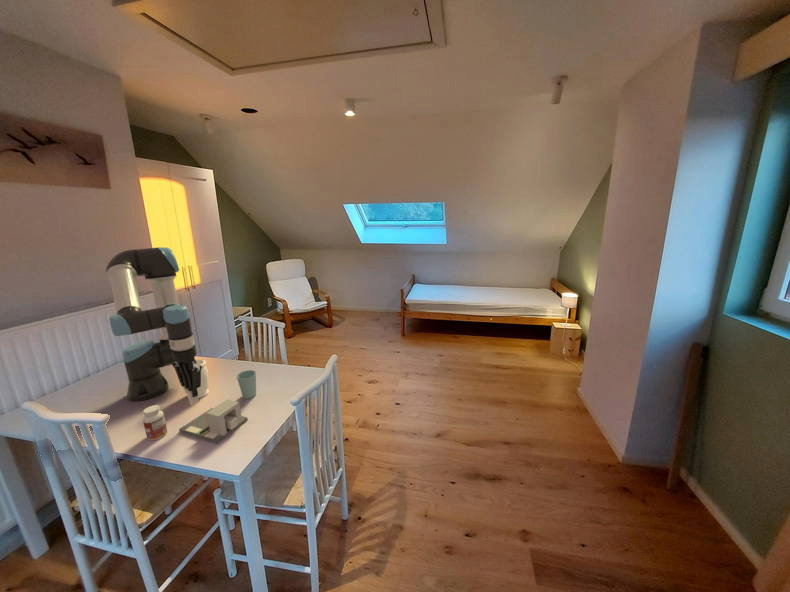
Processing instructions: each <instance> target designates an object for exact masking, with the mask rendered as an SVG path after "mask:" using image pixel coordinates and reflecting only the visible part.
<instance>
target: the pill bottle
mask: <svg viewBox="0 0 790 592" xmlns="http://www.w3.org/2000/svg"><path fill="white" fill-rule="evenodd" d="M142 412H143V418H142V423H143V427H144V431H145V435H146V439H148V440H149V441H157V440H159V439H161V438H163V437H164V436H166V434H168V426H167V422H166V419H165V415H164V412H163V411H162V410H161V409H160V405H156V404H155V405H151V406H148V407H146V408H145V409H144V410H143V411H142Z"/></svg>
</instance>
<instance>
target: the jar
mask: <svg viewBox="0 0 790 592" xmlns="http://www.w3.org/2000/svg"><path fill="white" fill-rule="evenodd" d="M195 361H196V364H197V365H198V366H200V365H201V366H202V369H201V386H200V387H199V388H197V392H198V398H199V399H201V398H203V397H205V396H207V395H208V394H209V392H210V390H209V382H210V381H209V370H208V368H207V362H206V360H205V359H199V358H198V359H195ZM183 383H184V382H183ZM182 388H183V390H184V392H185V393H186V394H187V390H186V389H185V387H184V386H183V387H182ZM186 398H187V399H188V400H189V398H188V394H187V395H186Z"/></svg>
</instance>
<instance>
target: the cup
mask: <svg viewBox="0 0 790 592" xmlns="http://www.w3.org/2000/svg"><path fill="white" fill-rule="evenodd" d="M236 380H237V382H238V383H237V384H238V385H239V390H240V392H241V396H242V398H243V399H245V400H249V399H252V398H254V397H255V396H256V395H257V373H256V371H255V370H252V369H249V370H244V371H241V372H239V373H237V375H236Z"/></svg>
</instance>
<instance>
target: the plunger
mask: <svg viewBox="0 0 790 592" xmlns="http://www.w3.org/2000/svg"><path fill="white" fill-rule="evenodd" d="M204 413H205V412H204ZM205 415H206V420H207V425H208V427H207V428H205V429H204V430H202V431H201V432H199V434H202V433H203V432H205V431H206V430H208V429H209V424H208V419H207V414H206V413H205ZM224 419H225V424H226V428H227V429H230V430H232V429H233V428H235V427H236V426H237V425H238V422H237V418H235V417H232V416H228V415H225V416H224Z"/></svg>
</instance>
